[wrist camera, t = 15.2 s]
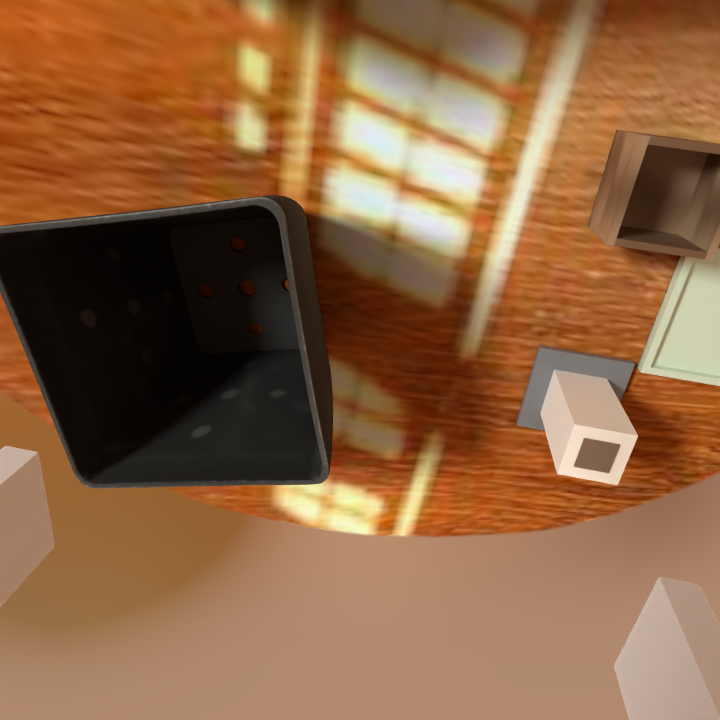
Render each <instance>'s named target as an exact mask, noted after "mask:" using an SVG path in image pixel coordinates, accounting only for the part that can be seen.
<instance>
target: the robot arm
mask: <svg viewBox="0 0 720 720" xmlns="http://www.w3.org/2000/svg"><path fill="white" fill-rule="evenodd" d="M54 546H55V542H54V536H53V531H52V525H51V520H50V514H49V508H48V503H47V498H46V492H45V486H44V481H43V475H42V470H41V464H40V459H39V453H38V452H34V451H29V450H24V449H19V448H14V447H9V446H5V447H4V448H2V449H1V450H0V607H1V606H2V605H3V604H4V603H5V602H6V600H7V599H8V598H9V597H10V596H11V595H12V594H13V593H14V591H15V590H16V589H17V588H18V587H19V586H20V584H21V583H22V582H23V581H24V580H25V579H26V578H27V577H28V576H29V575H30V573H31V572H32V571H33V570H34V569H35V568H36V567H37V566H38V564H39V563H40V562H41V561H42V560H43V559H44V558H45V557H46V555H47V554H48V553H49V552H50V551H51V550H52V549H53V548H54ZM614 668H615V672H616V675H617V679H618V682H619V686H620V689H621V693H622V696H623V700H624V703H625V707H626V711H627V714H628V718H629V720H720V624H719V622H718V620H717V618H716V616H715V615H714V613H713V610H712V608H711V607H710V604H709V602H708V601H707V599H706V596H705V595H704V593H703V591H702V589H701V587H700V585H699V584H695V583H689V582H684V581H680V580H674V579H670V578H664V577H660V576H659V578H658V580H657V582H656V584H655V586H654V588H653V590H652V592H651V594H650V596H649V598H648V599H647V601H646V603H645V605H644V607H643V609H642V612H641V613H640V615H639V617H638V619H637V622H636V623H635V625H634V627H633V629H632V631H631V633H630V635H629V637H628V639H627V641H626V643H625V645H624V647H623V649H622V651H621V653H620V655H619V657H618V659H617V660H616V662H615V664H614Z"/></svg>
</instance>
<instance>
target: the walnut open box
mask: <svg viewBox="0 0 720 720" xmlns="http://www.w3.org/2000/svg"><path fill="white" fill-rule="evenodd" d="M588 227H589V228H590V229H591V230H592V231H593V232H594V233H595V234H596V235H597V236H598V237H599V238H600V239H601V240H602V241H603V242H604V243H605V244H607V245H613V246H619V247H626V248H632V249H639V250H645V251H652V252H659V253H665V254H672V255H678V256H685V257H691V258H698V259H704V260H711V261H713V259H714V256H715V254H716V252H717V249H718V247H719V244H720V144H716V143H709V142H701V141H694V140H687V139H679V138H672V137H664V136H657V135H650V134H642V133H635V132H627V131H620V130H617V131H616V134H615V137H614V141H613V144H612V147H611V150H610V154H609V157H608V160H607V164H606V167H605V170H604V173H603V177H602V180H601V183H600V187H599V190H598V193H597V196H596V200H595V203H594V206H593V209H592V213H591V216H590V219H589V223H588Z"/></svg>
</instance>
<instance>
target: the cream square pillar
mask: <svg viewBox="0 0 720 720" xmlns="http://www.w3.org/2000/svg"><path fill="white" fill-rule="evenodd" d="M540 414H541V417H542V421H543V424H544V428H545V432H546V435H547V439H548V442H549V446H550V450H551V453H552V457H553V460H554V464H555V468H556V471H557V474H561V475H566V476H572V477H577V478H582V479H587V480H593V481H598V482H603V483H609V484H614V485H618V483H619V481H620V478H621V476H622V474H623V471H624V469H625V466H626V464H627V462H628V459H629V457H630V454H631V452H632V450H633V447H634V445H635V443H636V440H637V438H638V435H637V433H636V431H635V429H634V427H633V425H632V424H631V422H630V420H629V418H628V416H627V414H626V413H625V411H624V409H623V407H622V405H621V404H620V402H619V400H618V398H617V396H616V394H615V393H614V391H613V389H612V387H611V385H610V384H609V382H608V380H607V379H606V378H601V377H595V376H589V375H583V374H577V373H572V372H566V371H560V370H554V371H553V375H552V378H551V381H550V384H549V387H548V390H547V394H546V397H545V400H544V403H543V406H542V409H541V413H540Z"/></svg>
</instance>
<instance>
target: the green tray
mask: <svg viewBox="0 0 720 720" xmlns="http://www.w3.org/2000/svg"><path fill="white" fill-rule="evenodd" d="M637 368H638V369H639V371H640V372H641V373H647V374H653V375H659V376H665V377H670V378H676V379H682V380H688V381H694V382H699V383H705V384H711V385H717V386H720V246H719V247H718V249H717V252H716V254H715V256H714V259H713V261H711V260H704V259H698V258H691V257H685V256H680V259H679V261H678V264H677V266H676V269H675V271H674V274H673V277H672V279H671V282H670V284H669V287H668V289H667V292H666V294H665V297H664V300H663V302H662V305H661V307H660V310H659V312H658V315H657V317H656V320H655V323H654V325H653V328H652V330H651V333H650V335H649V338H648V340H647V343H646V346H645V348H644V351H643V353H642V356H641V358H640V361H639V363H638V366H637Z"/></svg>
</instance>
